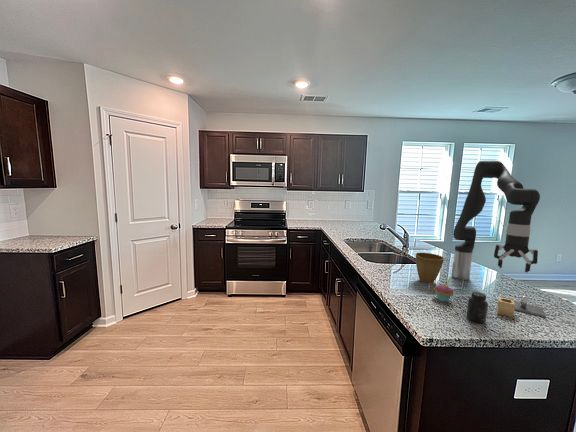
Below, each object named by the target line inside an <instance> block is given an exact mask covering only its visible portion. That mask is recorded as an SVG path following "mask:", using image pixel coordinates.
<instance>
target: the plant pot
mask: <svg viewBox="0 0 576 432" xmlns="http://www.w3.org/2000/svg"><path fill="white" fill-rule="evenodd" d="M444 260H445V257H444V256H441V255H439V254H435V253H430V252H416V253H415V264H416V271H417V275H418V279H419V281H420V282H421V283H424V284H428V285H431V284H434V283H435V281H436V280H437V277H438V276H439V273H440V272H441V270H442V267H443V264H444Z"/></svg>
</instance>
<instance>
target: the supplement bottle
mask: <svg viewBox="0 0 576 432" xmlns="http://www.w3.org/2000/svg"><path fill="white" fill-rule="evenodd" d="M466 307H467V308H466V314H465V315H466V316H465V317H466V319H467V320H468V321H469V322H471V323H474V324H477V325H485V324H486V322H487V317H488V310H489V303H488V302H487V295H486V294H485V293H483V292H479V291H473V292H471V297H469V298H468V300H467V306H466Z"/></svg>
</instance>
